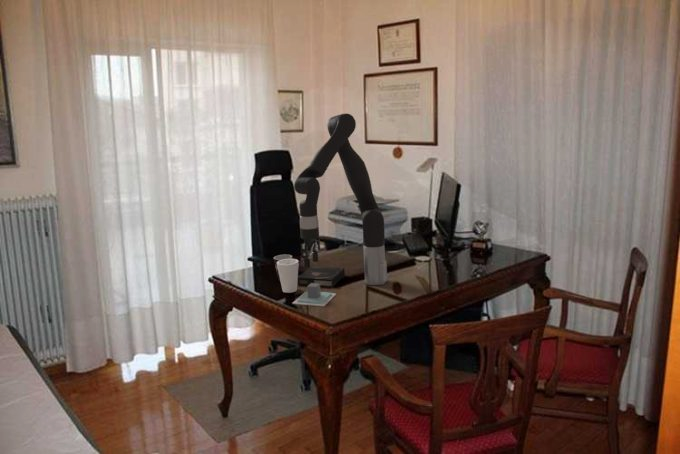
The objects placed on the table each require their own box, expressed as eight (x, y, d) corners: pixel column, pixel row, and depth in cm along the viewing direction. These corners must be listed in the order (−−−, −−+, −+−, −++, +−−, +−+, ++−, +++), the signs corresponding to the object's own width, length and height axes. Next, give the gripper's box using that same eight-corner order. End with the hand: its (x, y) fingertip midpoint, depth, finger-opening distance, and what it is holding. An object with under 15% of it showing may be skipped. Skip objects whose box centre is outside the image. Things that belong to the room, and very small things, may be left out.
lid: (331, 294, 239) (330, 281, 238) (322, 303, 229) (321, 290, 228) (307, 292, 243) (306, 279, 241) (297, 301, 233) (296, 288, 231)
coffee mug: (290, 280, 261) (289, 259, 259) (273, 280, 263) (271, 259, 260) (297, 272, 272) (296, 252, 270) (280, 272, 274) (278, 252, 271)
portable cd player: (297, 286, 254) (296, 277, 253) (312, 274, 270) (311, 266, 269) (331, 288, 249) (331, 280, 248) (344, 276, 264) (344, 268, 263)
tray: (336, 294, 240) (336, 293, 240) (324, 306, 227) (324, 305, 227) (305, 292, 245) (305, 291, 245) (292, 303, 232) (292, 303, 232)
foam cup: (279, 287, 253) (277, 259, 250) (300, 285, 253) (298, 257, 250) (279, 294, 244) (276, 265, 240) (300, 293, 244) (298, 264, 241)
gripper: (310, 230, 221) (313, 270, 225) (324, 222, 234) (326, 260, 238) (293, 229, 224) (296, 269, 228) (307, 221, 237) (310, 259, 241)
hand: (311, 264), depth 233 cm, fingers open, 8 cm apart
